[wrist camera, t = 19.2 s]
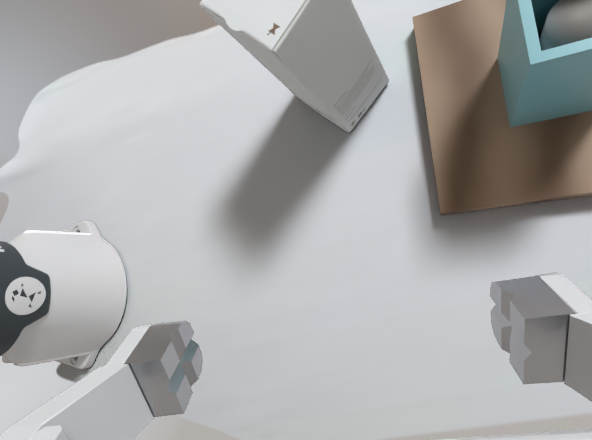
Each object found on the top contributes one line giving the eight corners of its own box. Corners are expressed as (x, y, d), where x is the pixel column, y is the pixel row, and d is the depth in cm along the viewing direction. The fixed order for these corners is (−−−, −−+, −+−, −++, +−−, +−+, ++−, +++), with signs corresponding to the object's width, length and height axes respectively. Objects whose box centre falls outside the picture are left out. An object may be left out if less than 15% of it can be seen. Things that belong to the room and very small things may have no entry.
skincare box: (391, 82, 35) (342, -42, 21) (347, 138, 36) (273, 57, 22) (328, 43, 38) (249, -86, 24) (289, 97, 40) (193, 2, 25)
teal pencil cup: (509, 127, 29) (530, 64, 20) (497, 57, 30) (511, -33, 21) (604, 108, 27) (675, 27, 18) (587, 33, 28) (646, -80, 19)
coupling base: (441, 215, 32) (432, 195, 23) (414, 27, 35) (398, -52, 26) (727, 177, 25) (866, 129, 16) (663, -56, 28) (753, -200, 19)
